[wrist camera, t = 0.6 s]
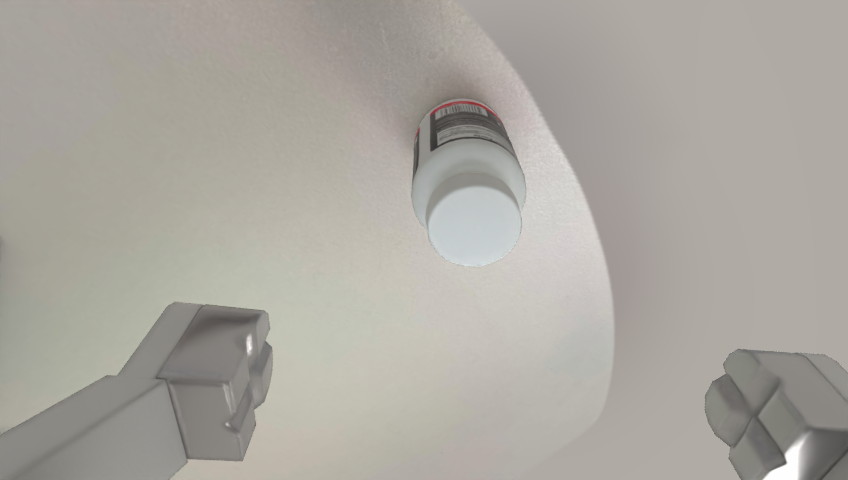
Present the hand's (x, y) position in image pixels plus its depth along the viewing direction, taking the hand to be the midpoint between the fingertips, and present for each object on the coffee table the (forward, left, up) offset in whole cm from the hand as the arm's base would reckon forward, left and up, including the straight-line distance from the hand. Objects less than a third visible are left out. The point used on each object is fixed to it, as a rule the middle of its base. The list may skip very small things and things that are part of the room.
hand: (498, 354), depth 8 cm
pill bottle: (+3, +3, -21) cm, 21 cm away
